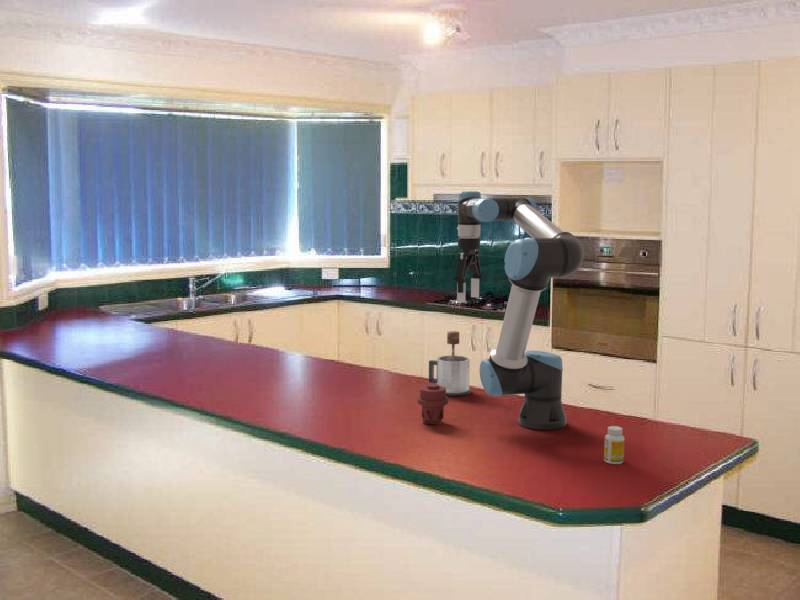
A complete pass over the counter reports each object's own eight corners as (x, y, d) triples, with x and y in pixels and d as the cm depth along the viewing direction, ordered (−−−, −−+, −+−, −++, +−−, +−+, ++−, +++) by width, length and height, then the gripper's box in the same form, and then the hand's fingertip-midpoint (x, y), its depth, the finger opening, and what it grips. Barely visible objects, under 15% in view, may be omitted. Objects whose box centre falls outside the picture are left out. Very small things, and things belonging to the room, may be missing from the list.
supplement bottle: (600, 461, 248) (601, 428, 247) (610, 457, 252) (611, 424, 251) (617, 465, 245) (618, 431, 243) (627, 461, 248) (628, 427, 247)
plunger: (466, 387, 329) (467, 331, 326) (459, 391, 321) (459, 334, 318) (446, 384, 332) (447, 329, 329) (438, 389, 325) (438, 333, 322)
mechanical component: (452, 425, 283) (422, 428, 281) (442, 417, 293) (413, 419, 290) (452, 387, 282) (422, 389, 279) (443, 380, 291) (413, 382, 289)
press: (475, 390, 330) (475, 356, 328) (463, 398, 318) (463, 363, 316) (436, 386, 336) (436, 353, 335) (422, 393, 325) (423, 359, 323)
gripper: (471, 234, 313) (470, 294, 316) (444, 239, 291) (444, 303, 294) (491, 235, 310) (490, 295, 313) (466, 240, 288) (465, 305, 291)
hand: (468, 299), depth 304 cm, fingers open, 13 cm apart
